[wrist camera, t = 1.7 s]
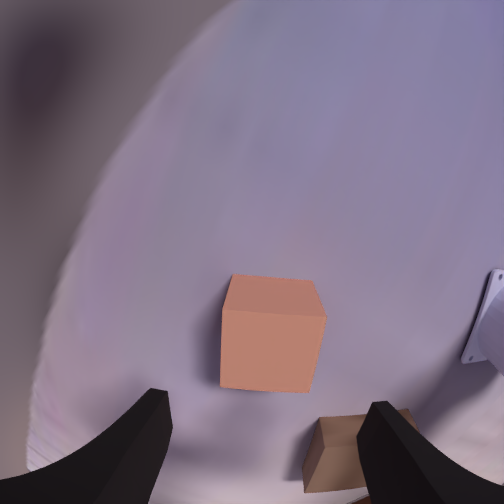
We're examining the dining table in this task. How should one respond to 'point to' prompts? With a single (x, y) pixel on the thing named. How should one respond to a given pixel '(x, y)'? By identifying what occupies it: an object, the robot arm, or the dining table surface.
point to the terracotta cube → (270, 334)
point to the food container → (362, 500)
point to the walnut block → (336, 454)
